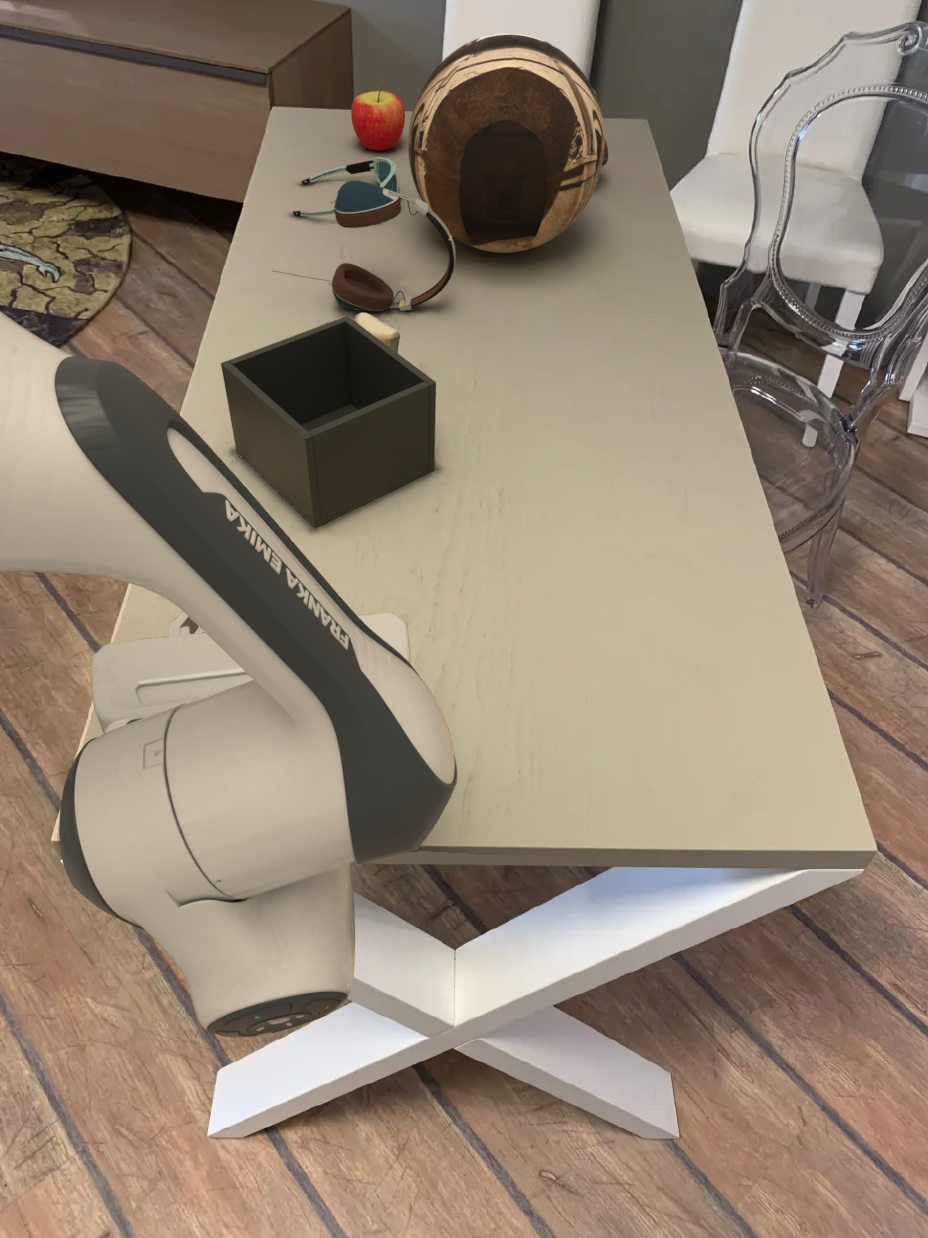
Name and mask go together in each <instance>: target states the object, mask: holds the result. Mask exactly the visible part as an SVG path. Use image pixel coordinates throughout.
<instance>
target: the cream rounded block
mask: <svg viewBox="0 0 928 1238" xmlns="http://www.w3.org/2000/svg"><path fill="white" fill-rule="evenodd" d="M353 318H354V319H353V320H354V321H355V322H357V323H358V324H359V325H361V326H362V327H363V328H365V329H366V330H367V331H369V332H370V333H371V334H373V335H374V336H375V337H376V338H378V339H379V340H380V341H382V342H383V343H384V344H386V345H387V346H388V347H390V348H391V349H392V350H394V351H395V352H396V353H398V354H399V346H400V339H401V333H400V331H399V330H397V329H396V328H393V327H392V326H390V325H389V324H387V323H385V322H384V321H382V320H380V319H379V318H377V317H375V316H374V315H372V314H371V313H368V312H359V313H357V314H356V315H354V317H353Z"/></svg>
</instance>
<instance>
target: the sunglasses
mask: <svg viewBox="0 0 928 1238" xmlns="http://www.w3.org/2000/svg"><path fill="white" fill-rule="evenodd" d="M396 170H397V164H396V163H395V162H394V161H393V160H391V159H390V158H387V157H380V156H376V157H374V158H372V160H366V161H360V162H355V163H351V164H347V165H340V166H337V167H334V168H331V169H328V170H324V171H322V172H319V173H316V174H314V175H312V176H310V177H308V178H306V179H303V180H301V181H300V182H301V183H302V184H303V185H308V184H311V183H312V182H316V181H317V180H320V179H323V178H326V177H328V176H332V175H335V174H338V173H344V172H347V173H348V174H351V175H356V174H361V173H367V172H369V173H370V172H373V173H374V177H375V180H376V182H377V183H378V184H379V186H380V187H383V188H386V189H388V190H391V191H393V192H396V193H399V194H400V184H399V183H398V178H397V173H396ZM292 214H293V215H294V217H322V216H331V215H335V211H334V207H332V208H328V209H321V210H311V211H310V210H296V211H295V210H293V211H292Z"/></svg>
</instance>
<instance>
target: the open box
mask: <svg viewBox="0 0 928 1238" xmlns="http://www.w3.org/2000/svg"><path fill="white" fill-rule="evenodd" d="M220 367H221V371H222V377H223V383H224V389H225V394H226V395H225V396H226V400H227V405H228V406H227V407H228V413H229V418H230V423H231V428H232V434H233V441H234V447H235V451H236V453H237V454H238V455H239V456H240V457H241V458H242V459H243V460H244V461H245V462H246V464H248V465H249V466H250V467H251V468H252V469H253V470H254V471H255V472H257V474H259V475H260V476H261V477H262V479H264V481H266V482H267V484H269V485H270V486H271V487H272V488H273V489H274V490H275V491H276V492H277V493H278V494H279V495H280V496H281V497H282V498H283V499H284V500H285V501H286V503H288V504H290V506H291V507H292V508H293V509H294V510H295V511H296V512H297V513H298V514H299V515H301V517H303V518H304V519H305V520H306V521H307V523H309V524H310V525H311V526H312V527H313V528H314V529H317V528H318V527H321V526H323V525H325V524H328V523H329V522H331V521H333V520H336V519H338V518H339V517H342V516H343V515H346V514H348V513H349V512H352V511H353V510H355V509H358V508H360V507H362V506H364V505H366V504H368V503H370V502H372V501H374V500H376V499H378V498H381V497H382V496H385V495H386V494H389V493H391V492H393V491H394V490H397V489H399V488H401V487H403V486H404V485H407V484H409V483H411V482H414V481H415V480H417V479H419V478H421V477H423V476H426V475H428V474H429V473H431V472H434V471H435V464H436V463H435V461H436V458H435V457H436V455H435V454H436V408H437V407H436V406H437V405H436V404H437V381H435V379H432V378H431V377H430V376H429V375H427V374H426V373H425V372H424V371H422V370H421V369H419V368H418V367H417V366H416V365H414V364H413V363H411V362H410V361H408V360H407V358H405V357H403V356H402V355H401V354H399V352H398V353H396V352H395V351H394V350H392V349H391V348H390V347H388V346H387V345H386V344H384V343H383V342H382V341H380V340H379V339H378V338H376V337H375V336H374V335H373V334H371V333H370V332H369V331H367V330H366V329H365V328H363V327H362V326H361V325H359V324H358V323H357V322H355V321H354V319H353V318H352V317H350V316H349V315H345V316H342V317H341V318H337V319H334V320H333V321H329V322H327V323H324V324H322V325H319V326H317V327H314V328H311V329H308V330H305V331H303V332H300V333H297V334H295V335H293V336H289V337H286V338H284V339H281V340H279V341H275V342H273V343H271V344H268V345H265V346H262V347H260V348H257V349H255V350H252V351H250V352H246V353H243V354H242V355H239V356H236V357H233V358H231V359H229V360H225V361H223V362H221V363H220Z"/></svg>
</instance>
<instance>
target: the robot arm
mask: <svg viewBox="0 0 928 1238" xmlns="http://www.w3.org/2000/svg"><path fill="white" fill-rule="evenodd" d="M0 573H44V574H45V573H46V574H66V575H67V574H68V575H81V576H89V577H96V578H97V577H98V578H105V579H109V580H114V581H119V582H124V583H127V584H131V585H133V586H137V587H140V588H143V589H145V590H147V591H149V592H152V593H154V594H157V595H158V596H160V597H162V598H164V599H165V600H167V601H169V602H170V603H172V604H173V605H175V607H177V608H178V609H180V610H181V612H180V613H179V614H178V615H177V616H176V618H175V619H174V620H173V622H171V623H170V625H169V626H168V627H167V636H161V637H160V636H159V637H152V638H144V639H143V638H141V639H135V640H124V641H115V642H108V643H106V644H104V645H103V646H102V647H100V648H99V649H98V650H97V651H96V652H95V653H94V654H93V656H92V657H91V661H90V689H91V698H92V705H93V709H94V713H95V714H96V715H95V716H96V717H97V720H98V723H99V725H100V728H101V731H102V733H103V734H102V735H100V736H96V737H93V738H91V739H89V740H88V741H87V742H85V744H84V745H82V748H81V749H80V750H79V752H78V753H77V755H76V756H75V758H74V759H73V762H72V764H71V766H70V768H69V771H68V773H67V775H66V779H65V782H64V785H63V789H62V794H61V800H60V807H59V823H58V825H59V826H58V837H59V839H58V840H59V848H60V855H61V859H62V863H63V867H64V870H65V873H66V876H67V878H68V880H69V882H70V883H71V885H72V886H73V888H74V889H75V890H76V891H77V892H78V893H80V894H81V895H82V896H83V897H84V898H85V899H86V900H88V901H89V902H90V903H91V904H93V906H96V907H97V908H98V909H100V910H101V911H103V912H105V913H106V914H108V915H110V916H112V917H114V918H116V919H117V920H120V921H122V922H123V923H127V924H129V925H130V926H132V927H135V928H138V929H140V930H143V931H145V932H147V933H148V935H149V936H150V937H151V938H152V939H153V940H154V941H155V942H156V943H157V944H158V945H159V947H161V949H162V950H164V952H165V953H166V954H167V955H168V957H169V958H170V959H171V960H172V961H173V962H174V964H175V965H176V966H177V968H178V969H179V971H180V973H181V974H182V976H183V979H184V980H185V983H186V985H187V988H188V992H189V995H190V999H191V1002H192V1006H193V1009H194V1013H195V1016H196V1019H197V1021H198V1023H199V1025H200V1026H201V1027H202V1028H203V1029H204V1030H205V1031H207V1032H209V1033H211V1034H215V1035H219V1036H220V1037H224V1038H253V1037H258V1036H259V1035H267V1034H275V1033H279V1032H282V1031H285V1030H289V1029H292V1028H296V1027H299V1026H302V1025H305V1024H308V1023H311V1022H313V1021H316V1020H319V1019H321V1018H324V1017H325V1016H327V1015H329V1014H330V1013H331V1012H333V1011H335V1010H336V1009H338V1008H339V1007H340V1005H342V1004H343V1003H344V1002H345V1001H346V1000H347V999H348V998H349V996H350V995H351V992H352V987H353V983H354V976H355V975H354V974H355V963H356V962H355V961H356V911H355V910H356V909H355V896H354V895H355V894H354V883H353V873H352V864H353V863H356V864H357V865H360V864H364V863H368V862H372V861H376V860H380V859H385V858H389V857H392V856H397V855H402V854H406V853H409V852H414V851H418V850H419V849H420V847H421V846H422V845H423V843H424V842H425V840H426V839H427V838H428V836H429V835H430V834H431V832H432V831H433V829H434V828H435V826H436V825H437V823H438V821H439V820H440V818H441V816H442V815H443V812H444V811H445V809H446V808H447V805H448V803H449V801H450V800H451V797H452V795H453V793H454V790H455V788H456V787H457V782H458V766H457V760H456V756H455V749H454V743H453V740H452V736H451V731H450V728H449V725H448V721H447V719H446V717H445V714H444V712H443V710H442V708H441V706H440V704H439V702H438V700H437V698H436V697H435V695H434V693H433V691H432V690H431V689H430V687H429V686H428V685H427V683H426V682H425V681H424V680H423V678H422V677H421V676H420V674H419V672H417V670H416V669H415V668H414V666H413V665H412V663H411V644H410V634H409V628H408V623H407V621H406V620H405V619H403V618H402V617H401V616H399V615H398V614H397V613H395V612H393V611H383V612H377V613H367V614H356V612H355V611H354V610H353V608H351V607H350V606H349V605H348V604H347V603H346V602H345V600H344V599H343V598H342V597H341V596H340V595H339V593H338V592H337V591H336V589H334V587H333V586H332V585H331V584H330V582H329V581H327V579H326V578H325V577H324V576H323V574H321V572H320V571H319V570H318V569H317V568H316V566H315V565H314V564H313V563H312V562H311V561H310V559H308V557H307V556H306V555H305V554H304V553H303V551H302V550H301V549H300V548H299V547H298V546H297V544H296V543H295V542H294V541H293V540H292V538H290V536H289V535H288V534H287V533H286V531H285V530H283V528H282V527H281V526H280V525H279V524H278V522H277V521H276V520H275V519H274V518H273V517H272V516H271V515H270V513H269V512H268V510H266V508H264V506H263V505H262V504H261V503H260V502H259V500H258V499H257V498H256V497H255V496H254V495H253V494H252V493H251V491H250V490H249V489H248V488H247V487H246V486H245V485H244V483H243V482H242V481H241V480H240V479H239V477H237V476H236V475H235V473H234V472H233V470H231V469H230V468H229V466H228V465H227V464H226V462H224V461H223V460H222V459H221V457H220V456H219V455H218V454H217V453H216V452H215V451H214V450H213V448H211V446H210V445H209V444H208V443H207V442H206V440H204V439H203V438H202V437H201V436H200V434H199V433H198V432H197V431H196V430H195V429H194V428H193V426H191V425H190V424H189V422H187V421H186V420H185V419H184V418H183V417H182V416H181V415H180V414H179V413H178V411H176V410H175V409H174V407H172V406H171V405H170V404H169V403H168V402H167V401H166V400H165V399H164V398H163V397H162V396H161V395H160V394H159V393H158V392H157V391H156V390H154V389H153V388H152V387H151V386H149V384H147V383H146V382H145V381H143V380H142V378H140V377H139V376H138V375H137V374H136V373H134V372H132V371H131V370H130V369H128V368H127V367H125V366H123V365H122V364H120V363H118V362H115V361H111V360H103V359H97V358H91V357H90V358H89V357H84V356H77V355H72V354H70V353H68V352H66V351H64V350H62V349H60V348H59V347H56V346H55V345H53V344H51V343H49V342H47V341H46V340H44V339H42V338H40V337H39V336H37V335H36V334H34V333H32V332H31V331H29V330H28V329H26V328H24V327H23V326H22V325H20V324H19V323H17V322H16V321H14V320H13V319H12V318H11V317H9V316H8V315H6V314H4V313H3V312H2V311H1V310H0ZM198 629H200V630H202V631H203V632H197V631H198Z"/></svg>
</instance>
